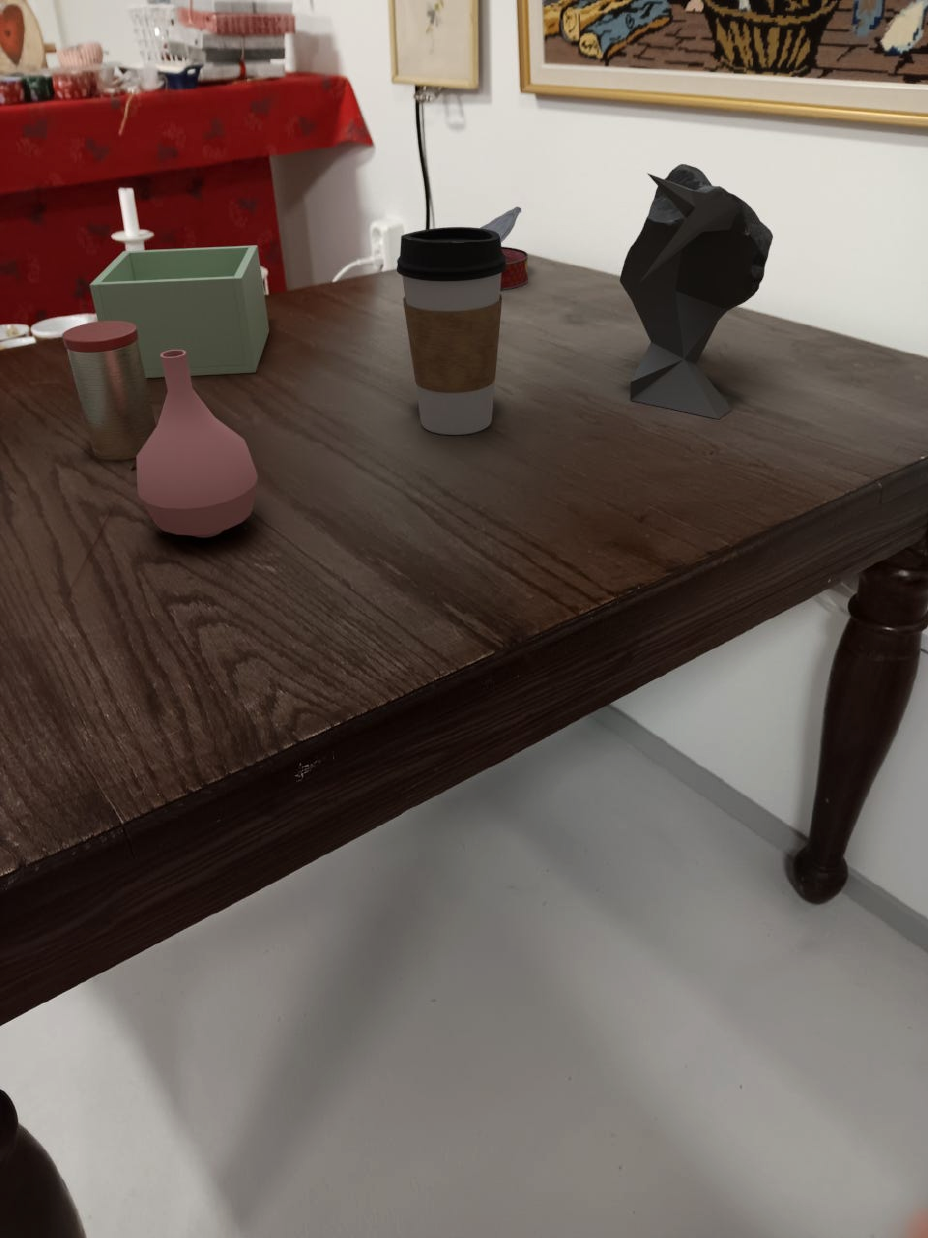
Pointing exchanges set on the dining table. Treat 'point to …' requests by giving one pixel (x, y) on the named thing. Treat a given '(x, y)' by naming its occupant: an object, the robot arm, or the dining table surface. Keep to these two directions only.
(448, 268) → the coffee cup
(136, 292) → the tote
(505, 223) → the canned food
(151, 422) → the spice tin
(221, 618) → the dining table surface
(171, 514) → the pink vase
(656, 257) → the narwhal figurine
